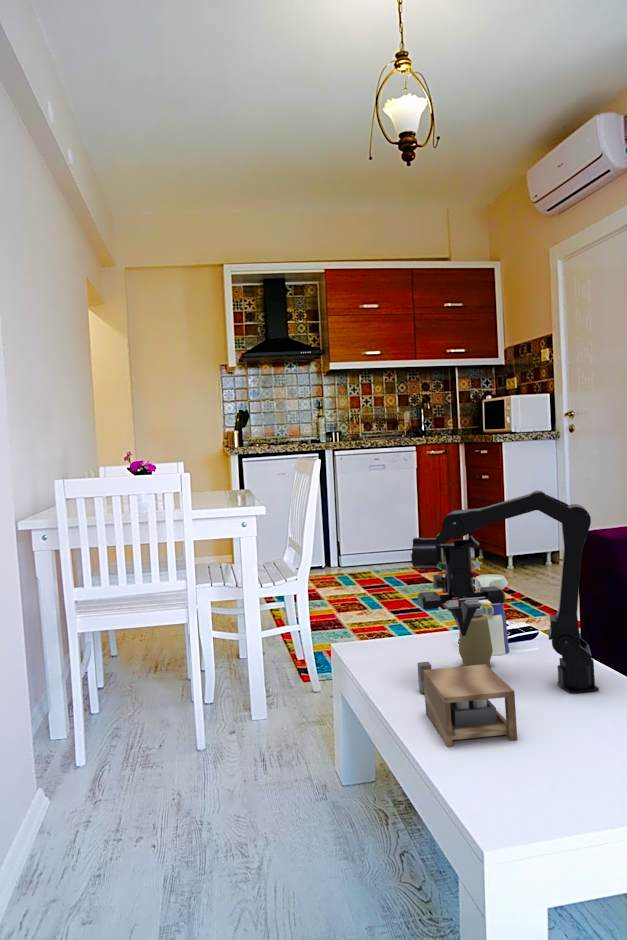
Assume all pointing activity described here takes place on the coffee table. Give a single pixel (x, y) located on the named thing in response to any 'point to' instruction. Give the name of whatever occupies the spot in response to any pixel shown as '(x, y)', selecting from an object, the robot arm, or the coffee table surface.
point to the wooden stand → (464, 695)
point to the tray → (473, 713)
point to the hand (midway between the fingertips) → (463, 635)
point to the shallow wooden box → (471, 730)
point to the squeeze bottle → (476, 641)
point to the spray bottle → (494, 611)
